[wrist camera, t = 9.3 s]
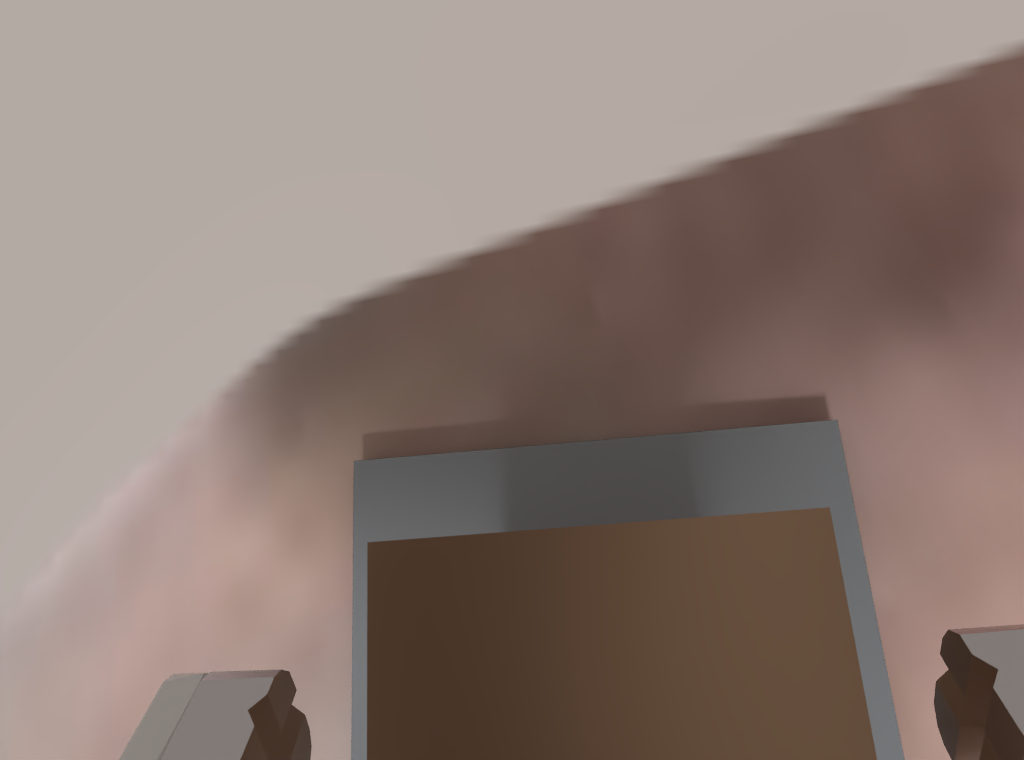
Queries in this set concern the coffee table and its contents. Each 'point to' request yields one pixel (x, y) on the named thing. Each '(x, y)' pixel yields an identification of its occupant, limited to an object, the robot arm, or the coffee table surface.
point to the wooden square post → (616, 643)
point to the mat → (621, 512)
